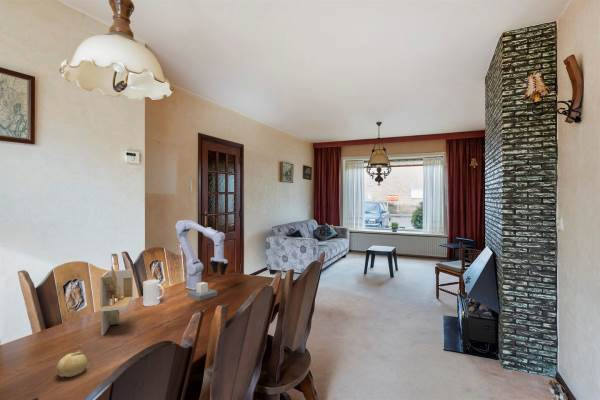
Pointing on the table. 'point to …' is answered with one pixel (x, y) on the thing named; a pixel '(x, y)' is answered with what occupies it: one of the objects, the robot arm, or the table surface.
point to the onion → (71, 364)
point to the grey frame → (114, 295)
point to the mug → (151, 292)
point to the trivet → (202, 296)
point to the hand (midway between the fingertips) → (219, 273)
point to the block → (202, 287)
